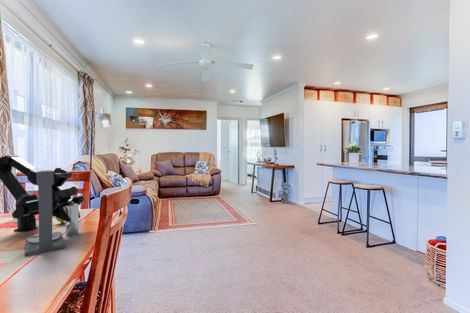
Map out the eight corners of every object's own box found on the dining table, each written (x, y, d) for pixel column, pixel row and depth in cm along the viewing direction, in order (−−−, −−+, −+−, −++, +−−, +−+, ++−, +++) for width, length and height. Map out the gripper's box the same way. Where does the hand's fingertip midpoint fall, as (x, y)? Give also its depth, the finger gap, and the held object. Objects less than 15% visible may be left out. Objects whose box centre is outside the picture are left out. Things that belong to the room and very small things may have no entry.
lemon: (54, 225, 126) (54, 209, 126) (56, 222, 131) (56, 206, 131) (68, 223, 129) (68, 207, 129) (69, 220, 134) (69, 205, 134)
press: (26, 241, 105) (25, 168, 104) (68, 234, 114) (68, 166, 113) (24, 257, 90) (23, 172, 89) (73, 247, 99) (73, 170, 98)
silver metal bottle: (62, 235, 112) (62, 202, 111) (71, 231, 117) (71, 200, 116) (73, 236, 111) (72, 203, 111) (81, 232, 116) (81, 200, 116)
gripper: (44, 184, 105) (67, 212, 103) (81, 179, 123) (100, 203, 121) (29, 202, 107) (51, 230, 105) (67, 194, 125) (86, 218, 123)
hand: (74, 219), depth 114 cm, fingers closed on silver metal bottle, 5 cm apart
